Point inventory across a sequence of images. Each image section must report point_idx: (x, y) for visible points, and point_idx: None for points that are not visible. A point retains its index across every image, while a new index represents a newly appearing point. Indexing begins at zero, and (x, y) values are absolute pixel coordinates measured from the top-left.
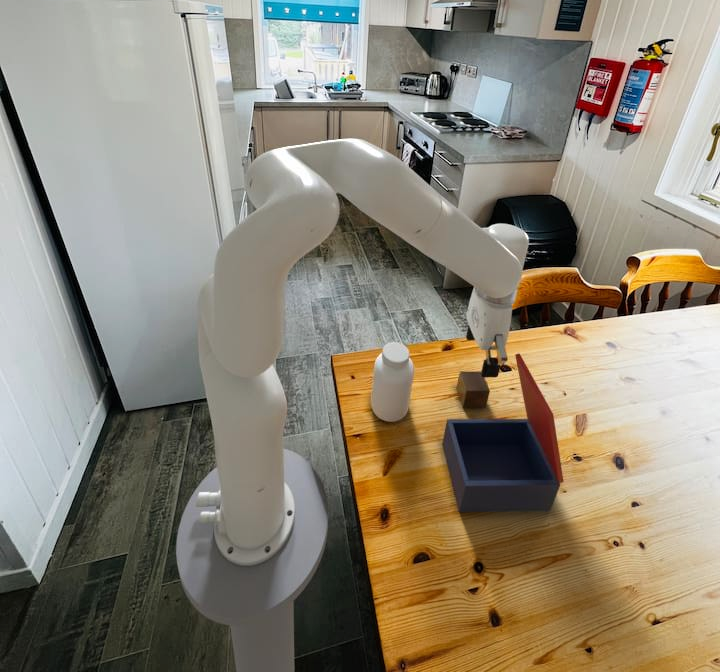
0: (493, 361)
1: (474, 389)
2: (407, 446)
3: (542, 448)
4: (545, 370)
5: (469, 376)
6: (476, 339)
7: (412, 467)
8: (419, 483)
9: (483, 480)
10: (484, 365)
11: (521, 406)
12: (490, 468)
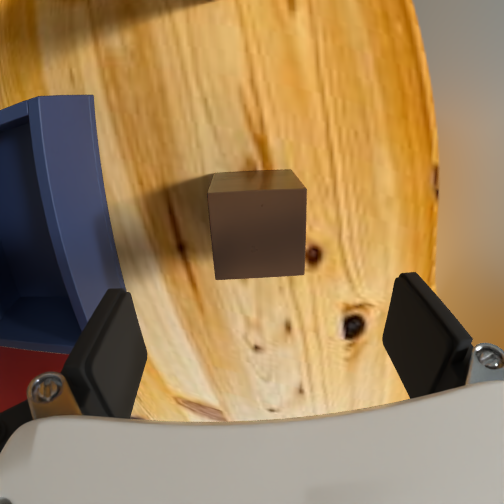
0: (2, 424)
1: (215, 226)
2: (87, 7)
3: (22, 351)
4: (333, 397)
5: (280, 222)
6: (118, 453)
7: (42, 27)
8: (14, 48)
9: (18, 189)
10: (76, 344)
11: (233, 332)
12: (43, 211)
